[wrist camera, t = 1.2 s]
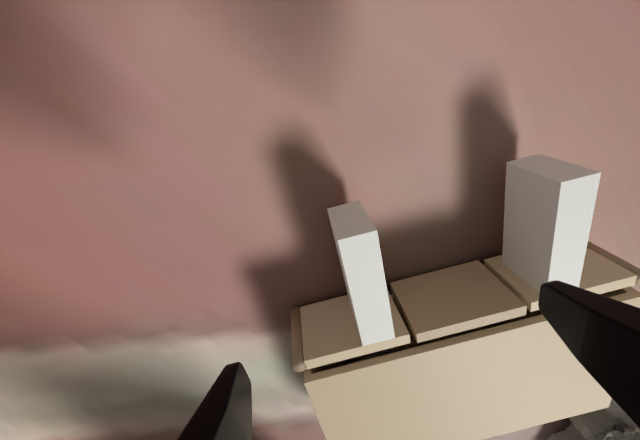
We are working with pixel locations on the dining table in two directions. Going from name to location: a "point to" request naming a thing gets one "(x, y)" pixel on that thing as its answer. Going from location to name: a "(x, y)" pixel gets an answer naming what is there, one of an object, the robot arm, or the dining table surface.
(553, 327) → the robot arm
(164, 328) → the dining table surface
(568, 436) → the egg carton
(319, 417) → the carton
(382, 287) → the flap
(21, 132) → the dining table surface
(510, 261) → the flap
